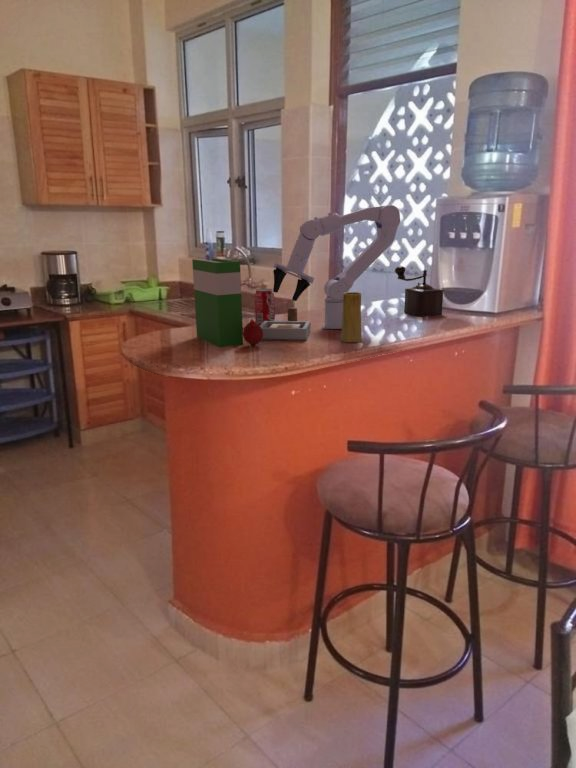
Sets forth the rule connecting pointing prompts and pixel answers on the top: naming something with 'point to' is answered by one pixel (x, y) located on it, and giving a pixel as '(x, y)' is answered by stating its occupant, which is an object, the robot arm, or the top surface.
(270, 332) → the box
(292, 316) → the peg
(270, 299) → the soda can
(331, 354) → the top surface
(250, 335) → the onion
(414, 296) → the manual coffee grinder
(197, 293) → the green cereal box
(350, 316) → the vase
